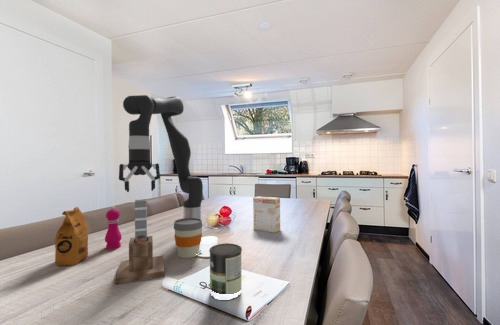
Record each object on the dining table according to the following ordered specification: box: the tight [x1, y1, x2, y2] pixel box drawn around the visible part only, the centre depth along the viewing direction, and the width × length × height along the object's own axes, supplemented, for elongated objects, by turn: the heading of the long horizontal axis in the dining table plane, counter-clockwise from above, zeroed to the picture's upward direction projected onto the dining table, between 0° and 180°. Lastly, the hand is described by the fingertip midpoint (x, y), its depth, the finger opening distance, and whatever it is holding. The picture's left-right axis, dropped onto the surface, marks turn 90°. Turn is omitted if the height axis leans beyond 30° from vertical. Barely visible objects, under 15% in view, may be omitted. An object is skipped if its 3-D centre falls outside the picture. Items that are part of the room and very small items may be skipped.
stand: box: [114, 235, 165, 285], centre depth 98 cm, size 16×16×14 cm
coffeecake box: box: [252, 195, 281, 234], centre depth 154 cm, size 15×7×20 cm, turn 58°
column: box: [134, 198, 148, 242], centre depth 98 cm, size 4×4×18 cm
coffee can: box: [209, 242, 243, 294], centre depth 82 cm, size 10×10×14 cm
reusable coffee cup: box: [173, 218, 203, 259], centre depth 115 cm, size 12×13×15 cm
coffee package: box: [54, 206, 89, 267], centre depth 109 cm, size 10×12×22 cm
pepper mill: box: [104, 205, 123, 250], centre depth 125 cm, size 7×7×20 cm
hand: (140, 191), depth 98 cm, fingers open, 8 cm apart
